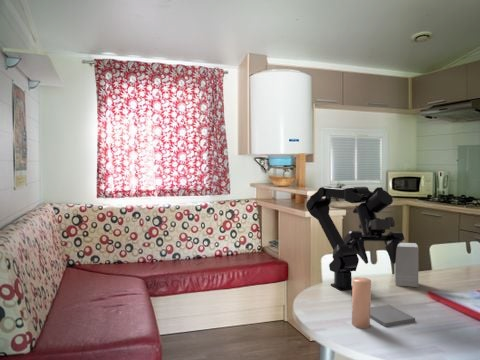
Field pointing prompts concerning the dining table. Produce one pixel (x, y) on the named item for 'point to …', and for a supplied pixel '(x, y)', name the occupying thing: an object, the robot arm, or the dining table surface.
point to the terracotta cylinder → (361, 302)
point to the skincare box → (406, 265)
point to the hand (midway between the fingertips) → (380, 263)
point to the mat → (389, 315)
